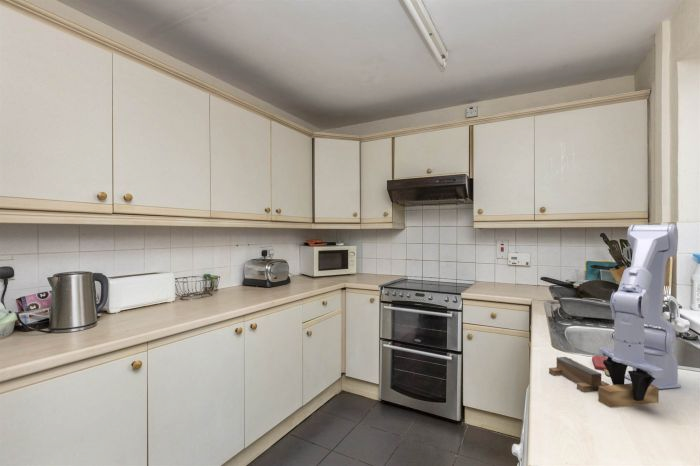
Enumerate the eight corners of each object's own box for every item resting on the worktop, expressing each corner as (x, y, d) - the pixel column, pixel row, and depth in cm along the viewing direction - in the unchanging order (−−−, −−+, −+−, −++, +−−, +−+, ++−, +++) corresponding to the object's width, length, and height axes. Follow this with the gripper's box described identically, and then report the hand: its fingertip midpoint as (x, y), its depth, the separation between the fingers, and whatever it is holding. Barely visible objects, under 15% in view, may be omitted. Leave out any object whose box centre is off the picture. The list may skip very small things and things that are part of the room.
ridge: (572, 371, 101) (572, 356, 101) (609, 389, 89) (609, 373, 89) (549, 372, 100) (549, 357, 100) (583, 392, 88) (583, 375, 88)
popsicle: (597, 370, 99) (590, 354, 112) (597, 375, 99) (590, 358, 112) (620, 374, 96) (610, 357, 109) (620, 379, 96) (610, 362, 109)
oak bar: (645, 397, 86) (646, 382, 86) (658, 403, 83) (658, 387, 83) (598, 402, 83) (598, 386, 83) (609, 408, 80) (609, 391, 80)
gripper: (589, 332, 89) (588, 382, 90) (645, 351, 75) (644, 411, 75) (612, 330, 91) (611, 380, 91) (671, 349, 76) (670, 409, 76)
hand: (628, 394), depth 83 cm, fingers open, 4 cm apart
